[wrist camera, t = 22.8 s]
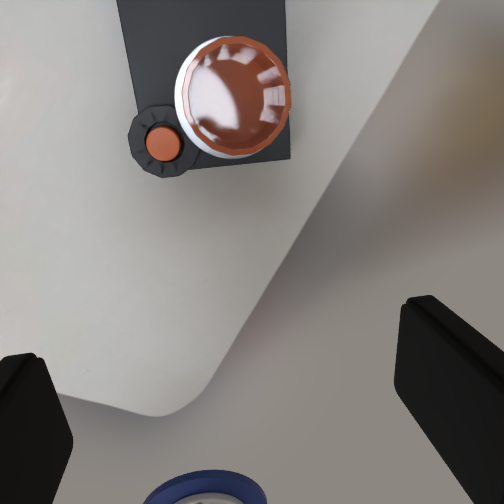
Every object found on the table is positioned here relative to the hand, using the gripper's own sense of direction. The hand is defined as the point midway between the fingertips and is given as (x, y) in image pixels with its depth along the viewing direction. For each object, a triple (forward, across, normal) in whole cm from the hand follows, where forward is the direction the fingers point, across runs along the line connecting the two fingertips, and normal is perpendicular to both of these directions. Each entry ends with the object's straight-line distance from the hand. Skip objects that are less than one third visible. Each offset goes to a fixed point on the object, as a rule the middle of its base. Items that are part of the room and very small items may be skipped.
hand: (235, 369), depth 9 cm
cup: (+21, -2, -7) cm, 22 cm away
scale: (+25, -1, -9) cm, 26 cm away
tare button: (+22, +3, -4) cm, 22 cm away
